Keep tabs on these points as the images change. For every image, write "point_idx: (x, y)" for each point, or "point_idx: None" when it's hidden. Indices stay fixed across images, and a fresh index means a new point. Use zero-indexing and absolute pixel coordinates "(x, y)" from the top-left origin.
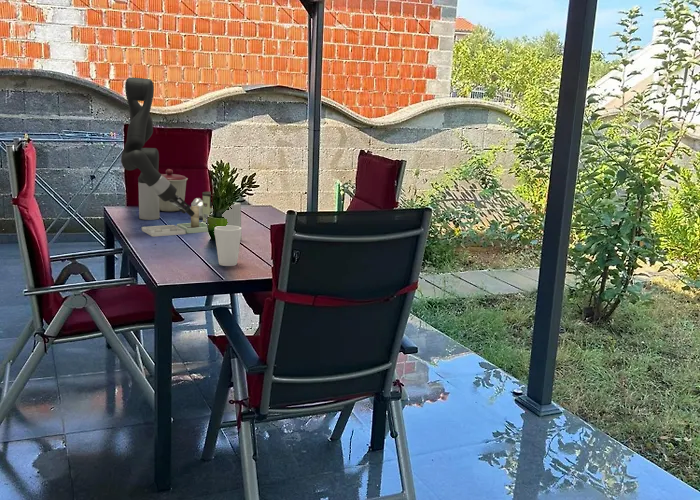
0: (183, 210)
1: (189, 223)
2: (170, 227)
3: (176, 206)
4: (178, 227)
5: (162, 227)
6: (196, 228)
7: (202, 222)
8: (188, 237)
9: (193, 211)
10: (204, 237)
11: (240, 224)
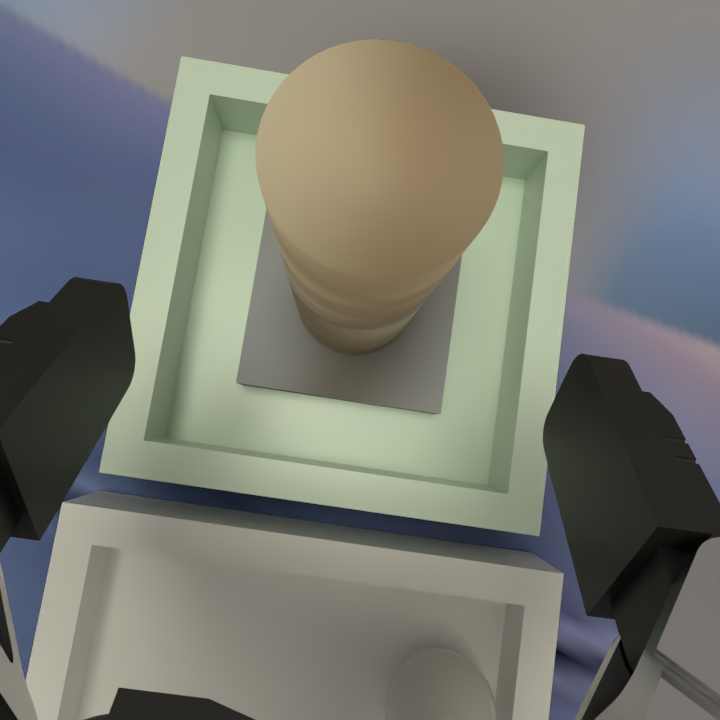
0: (103, 386)
1: (172, 282)
2: (98, 568)
3: (14, 641)
4: (302, 549)
5: (68, 702)
6: (552, 382)
7: (205, 78)
8: None
9: (437, 283)
10: (694, 381)
11: None
